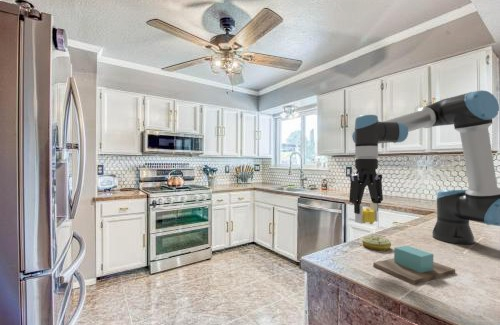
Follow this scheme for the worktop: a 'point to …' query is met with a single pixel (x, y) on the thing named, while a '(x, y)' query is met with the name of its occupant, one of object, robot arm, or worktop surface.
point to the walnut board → (413, 271)
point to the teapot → (368, 216)
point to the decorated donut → (376, 243)
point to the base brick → (413, 258)
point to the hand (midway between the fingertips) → (366, 221)
